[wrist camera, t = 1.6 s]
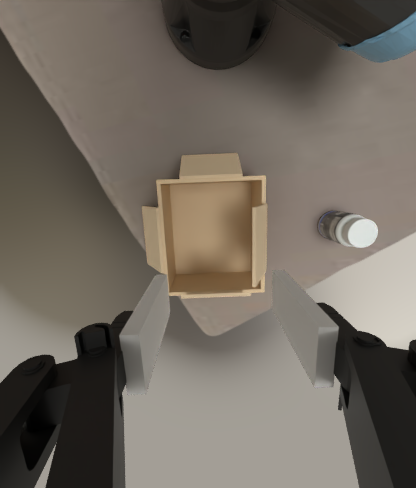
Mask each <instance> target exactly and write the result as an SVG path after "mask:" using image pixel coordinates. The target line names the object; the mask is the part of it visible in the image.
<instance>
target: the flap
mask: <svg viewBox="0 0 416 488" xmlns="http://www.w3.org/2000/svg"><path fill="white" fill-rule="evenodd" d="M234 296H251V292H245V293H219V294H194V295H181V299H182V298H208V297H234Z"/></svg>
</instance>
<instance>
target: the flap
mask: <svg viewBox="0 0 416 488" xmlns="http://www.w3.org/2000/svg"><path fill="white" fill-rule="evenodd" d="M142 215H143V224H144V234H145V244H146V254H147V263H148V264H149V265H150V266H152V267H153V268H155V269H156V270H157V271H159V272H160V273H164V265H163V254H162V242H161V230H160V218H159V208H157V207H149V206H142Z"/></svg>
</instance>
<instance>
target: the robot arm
mask: <svg viewBox="0 0 416 488" xmlns="http://www.w3.org/2000/svg"><path fill="white" fill-rule="evenodd" d="M276 4H278V5H279V6H281V7H282V8H284V9H285V10H287V11H288V12H290V13H292V14H293V15H295V16H296V17H298V18H299V19H301V20H302V21H304V22H305V23H307V24H309V25H310V26H312V27H313V28H315V29H316V30H318V31H319V32H321V33H323V34H324V35H326V36H327V37H329V38H330V39H332V40H333V41H335V42H337V43H338V46H339V47H340V48H342V49H343V50H347V51H348V50H351V51H353V52H355V53H357V54H359V55H361V56H362V57H364V58H366V59H368V60H370V61H373V62H386V61H390V60H395V59H398V58H401V57H403V56H405V55H407V54H409V53H411V52H413V51H415V50H416V0H162V8H163V13H164V17H165V21H166V25H167V28H168V31H169V34H170V36H171V38H172V40H173V42H174V43H175V45H176V46H177V48H178V49H179V50H180V51H181V52H182V53H183V54H184V55H185V56H186V57H187V58H188V59H189V60H191V61H192V62H194V63H196V64H198V65H200V66H202V67H205V68H210V69H226V68H231V67H234V66H236V65H239V64H241V63H242V62H244V61H245V60H247V59H248V58H249V57H251V56H252V55H253V54H254V53H255V52H256V51H257V49H258V48H259V47H260V45H261V44H262V42H263V41H264V39H265V37H266V35H267V33H268V30H269V27H270V25H271V22H272V19H273V16H274V13H275V8H276ZM272 310H273V312H274V314H275V316H276V318H277V320H278V321H279V323H280V325H281V327H282V329H283V331H284V333H285V334H286V336H287V338H288V340H289V342H290V343H291V345H292V347H293V349H294V351H295V353H296V354H297V356H298V358H299V360H300V362H301V364H302V366H303V368H304V369H305V371H306V373H307V375H308V376H309V379H310V380H311V382H312V384H313V386H314V388H324V387H333V384H334V374H335V376H336V377H337V379H338V380H339V382H340V383H341V386H340V395H339V405H338V410H341V409H342V407H343V411H344V416H345V421H346V426H347V431H348V435H349V440H350V445H351V450H352V454H353V459H354V464H355V469H356V473H357V478H358V483H359V488H416V340H412V341H411V342H410V345H409V350H403V349H397V348H390V347H387V346H386V344H385V343H384V342H383V341H382V340H381V339H380V338H378V337H376V336H375V335H372V334H370V333H366V332H362V331H357V330H356V329H355V328H354V327H353V326H352V325H351V324H350V323H349V322H348V321H347V320H345V319H343V317H342V316H341V315H340V314H338V312H337V311H336V310H335V309H334V308H332V307H331V306H329V305H327V304H325V303H315V302H314V300H313V299H312V298H311V297H310V296H309V295H308V294H307V293H306V292H305V291H304V290H303V289H302V288H301V287H300V286H299V285H298V284H297V283H296V282H295V281H294V280H293V279H292V278H291V277H290V275H289V274H288V273H287V272H286V271H285V270H272ZM169 315H170V305H169V292H168V280H167V275H155V277H154V278H153V280H152V282H151V283H150V285H149V287H148V288H147V290H146V292H145V293H144V295H143V297H142V298H141V300H140V302H139V303H138V305H137V306H136V308H135V310H134V311H124V312H122V313H121V314H119V315H118V316H117V317H116V318H115V319H114V321H113V322H112V324H111V325H110V324H108V323H95V324H92V325H89V326H86V327H84V328H82V329H81V330H80V331H79V332H77V333H76V335H75V336H74V337H75V343H76V348H77V353H78V358H77V359H75V360H72V361H68V362H63V363H59V364H55V359H54V357H53V356H51V355H40V356H35V357H33V358H30V359H27V360H26V361H24V362H22V363H20V364H19V365H18V366H17V367H15V368H14V369H13V370H12V371H11V372H10V373H9V375H8V376H7V377H6V378H5V379H4V380H3V381H2V382H1V383H0V488H34V487H35V485H36V483H37V481H38V479H39V477H40V475H41V473H42V471H43V469H44V467H45V465H46V462H47V460H48V458H49V456H50V454H51V452H52V450H53V448H54V446H55V444H56V447H55V451H54V455H53V459H52V464H51V468H50V472H49V476H48V480H47V484H46V488H125V453H124V417H123V397H122V392H123V389H124V387H125V385H126V388H127V395H136V394H146V393H147V389H148V386H149V382H150V379H151V376H152V372H153V369H154V366H155V362H156V359H157V356H158V352H159V349H160V345H161V342H162V338H163V335H164V332H165V329H166V325H167V322H168V319H169ZM56 442H57V443H56Z"/></svg>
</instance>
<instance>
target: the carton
mask: <svg viewBox="0 0 416 488" xmlns="http://www.w3.org/2000/svg"><path fill="white" fill-rule="evenodd" d="M156 183H157V195H158V207H159V218H160V230H161V242H162V254H163V265H164V275H167V280H168V292H169V296H180V295H194V294H219V293H245V292H251V293H257V292H264V279H265V274H264V275H263V277H262V278H261V280H260V281H259V283H258V285H257V286H256V287H252V208H253V207H256V206H259V205H262V204H266V176H242V177H219V178H194V179H168V180H156Z"/></svg>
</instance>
